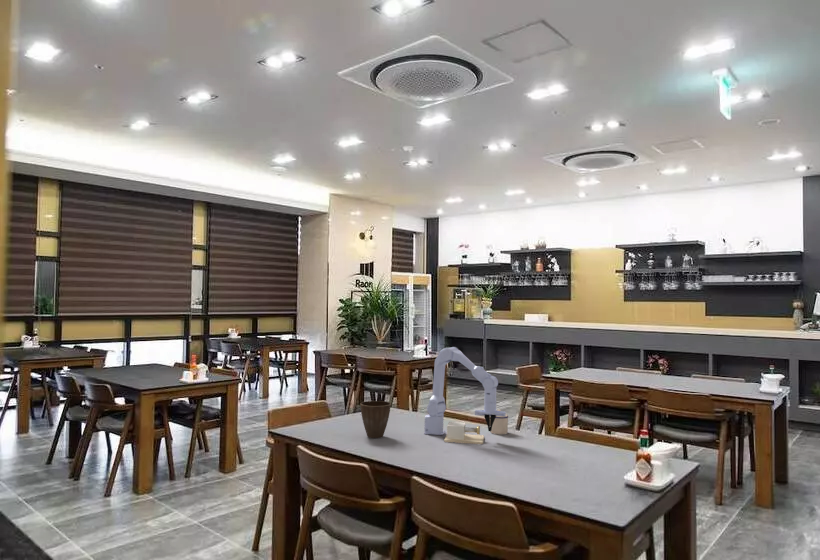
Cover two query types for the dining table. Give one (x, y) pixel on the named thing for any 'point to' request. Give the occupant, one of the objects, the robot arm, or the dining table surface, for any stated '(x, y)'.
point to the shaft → (472, 429)
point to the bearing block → (461, 434)
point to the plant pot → (375, 417)
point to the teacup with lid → (500, 425)
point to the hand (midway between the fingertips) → (489, 430)
